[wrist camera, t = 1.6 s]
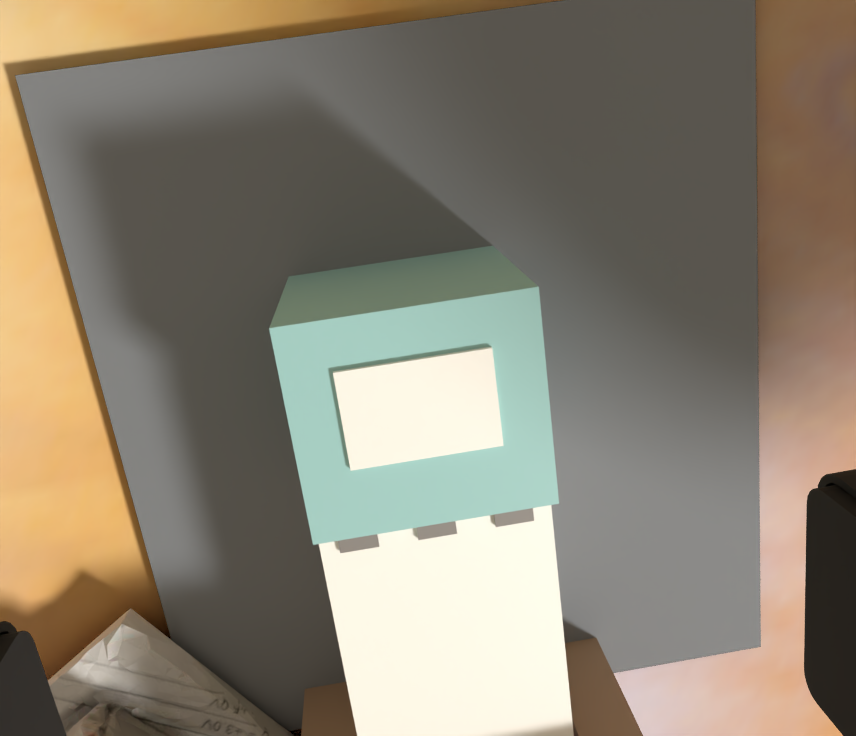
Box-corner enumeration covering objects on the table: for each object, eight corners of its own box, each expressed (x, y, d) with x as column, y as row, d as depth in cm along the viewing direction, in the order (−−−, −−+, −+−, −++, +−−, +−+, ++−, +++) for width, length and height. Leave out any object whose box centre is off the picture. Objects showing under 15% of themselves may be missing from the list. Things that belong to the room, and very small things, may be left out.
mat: (748, -24, 22) (755, -26, 22) (755, 639, 29) (760, 646, 29) (20, 75, 21) (15, 75, 21) (203, 738, 28) (201, 746, 28)
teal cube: (492, 245, 24) (539, 287, 18) (511, 415, 25) (560, 505, 19) (288, 276, 23) (268, 329, 17) (321, 446, 25) (312, 547, 19)
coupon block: (590, 411, 25) (669, 509, 19) (614, 719, 29) (687, 885, 23) (242, 468, 25) (206, 587, 19) (311, 774, 29) (301, 959, 22)
